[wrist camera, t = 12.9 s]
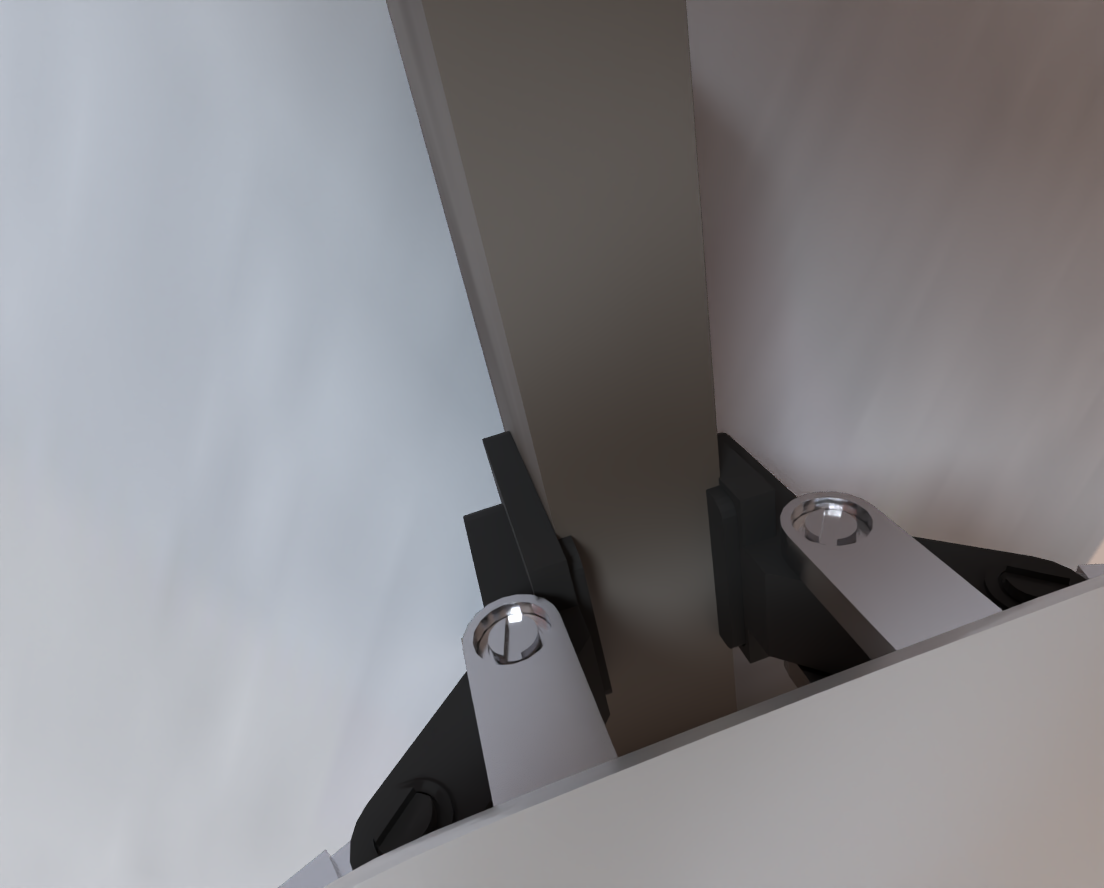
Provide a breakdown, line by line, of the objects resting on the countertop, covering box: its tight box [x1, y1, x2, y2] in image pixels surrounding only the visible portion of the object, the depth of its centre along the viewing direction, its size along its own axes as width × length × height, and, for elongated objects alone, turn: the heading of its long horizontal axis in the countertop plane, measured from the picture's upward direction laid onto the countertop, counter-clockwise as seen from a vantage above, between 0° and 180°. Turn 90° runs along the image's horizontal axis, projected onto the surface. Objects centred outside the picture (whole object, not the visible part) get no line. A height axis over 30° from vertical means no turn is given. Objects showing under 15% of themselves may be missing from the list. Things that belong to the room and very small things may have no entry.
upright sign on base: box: [386, 0, 797, 757], centre depth 10 cm, size 14×7×5 cm, turn 12°
